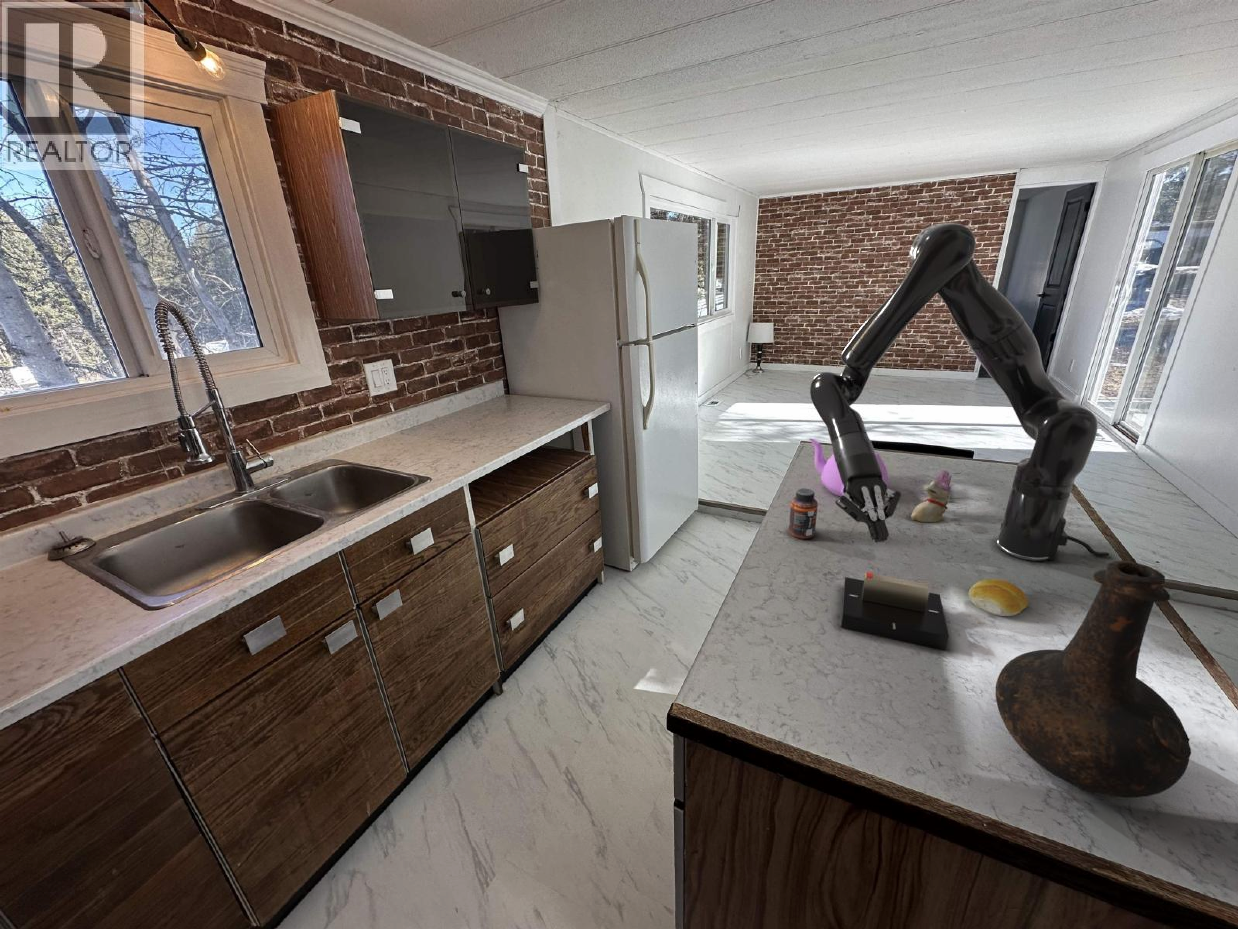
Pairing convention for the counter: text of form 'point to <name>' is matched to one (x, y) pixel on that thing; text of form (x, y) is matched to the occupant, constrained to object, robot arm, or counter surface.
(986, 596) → the bread roll
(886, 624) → the black square dial panel
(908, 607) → the red-tipped beige bar
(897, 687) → the counter surface
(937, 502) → the chocolate bunny
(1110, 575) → the brown mottled bulbous container
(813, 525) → the supplement bottle
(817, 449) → the teapot
